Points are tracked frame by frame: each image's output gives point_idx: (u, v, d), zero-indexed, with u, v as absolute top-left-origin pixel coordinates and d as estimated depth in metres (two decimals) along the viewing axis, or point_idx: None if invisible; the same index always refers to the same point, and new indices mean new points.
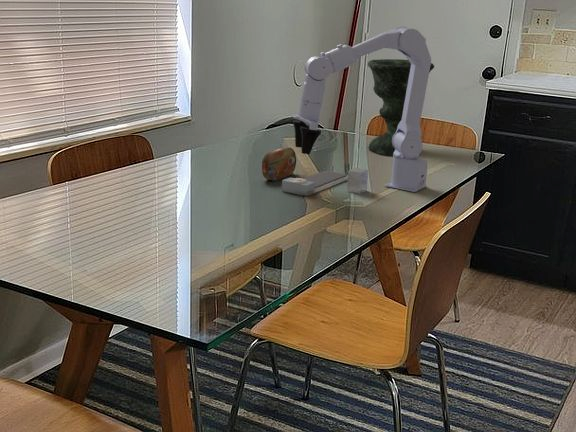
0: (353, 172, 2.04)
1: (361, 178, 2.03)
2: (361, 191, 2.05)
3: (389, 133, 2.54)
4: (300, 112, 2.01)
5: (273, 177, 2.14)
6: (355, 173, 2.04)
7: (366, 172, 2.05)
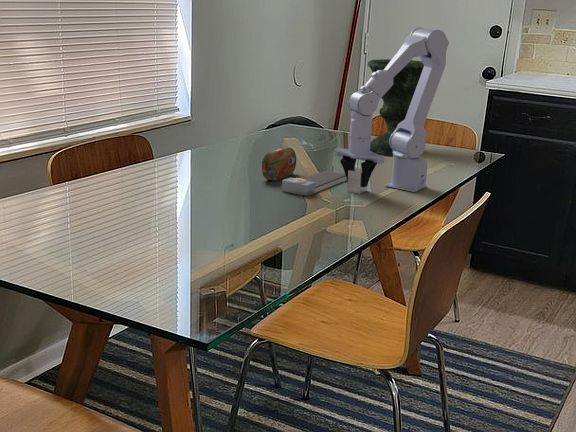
0: (353, 172, 2.04)
1: (361, 178, 2.03)
2: (361, 191, 2.05)
3: (389, 133, 2.54)
4: (357, 150, 2.01)
5: (273, 177, 2.14)
6: (355, 173, 2.03)
7: None
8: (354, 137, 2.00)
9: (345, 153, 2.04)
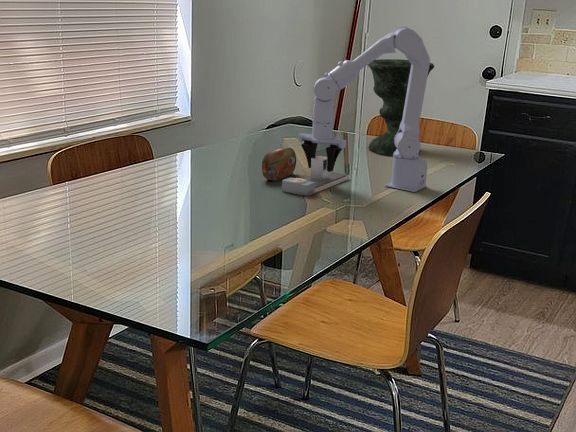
0: (316, 160, 2.10)
1: (323, 166, 2.09)
2: (324, 178, 2.11)
3: (389, 133, 2.54)
4: (320, 134, 2.06)
5: (273, 177, 2.14)
6: (318, 161, 2.09)
7: None
8: (316, 122, 2.06)
9: (308, 138, 2.09)
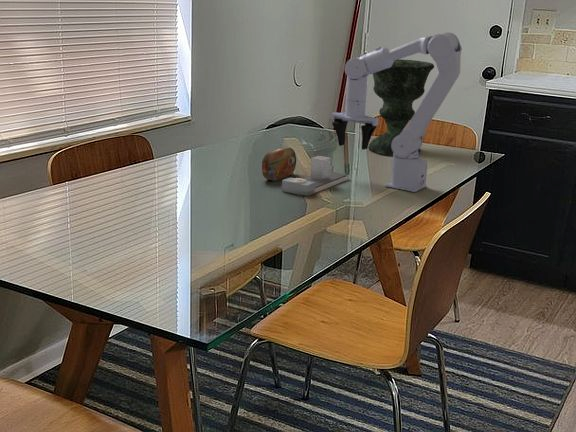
0: (316, 160, 2.10)
1: (323, 166, 2.09)
2: (324, 178, 2.11)
3: (389, 133, 2.54)
4: (353, 113, 2.11)
5: (273, 177, 2.14)
6: (318, 161, 2.09)
7: (329, 160, 2.11)
8: (350, 100, 2.11)
9: (341, 116, 2.14)
